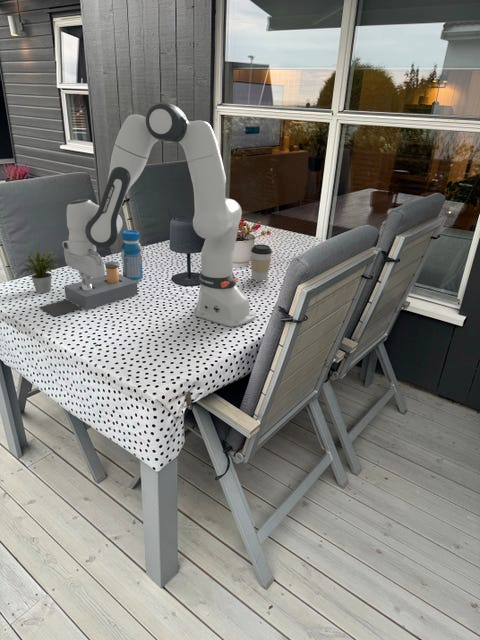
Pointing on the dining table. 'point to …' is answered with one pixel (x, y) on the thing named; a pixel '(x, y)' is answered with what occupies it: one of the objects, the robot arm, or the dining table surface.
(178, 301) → the dining table surface
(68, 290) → the housing
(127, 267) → the beverage bottle
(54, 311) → the mat
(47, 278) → the house plant
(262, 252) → the coffee cup
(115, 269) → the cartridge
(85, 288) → the plunger
